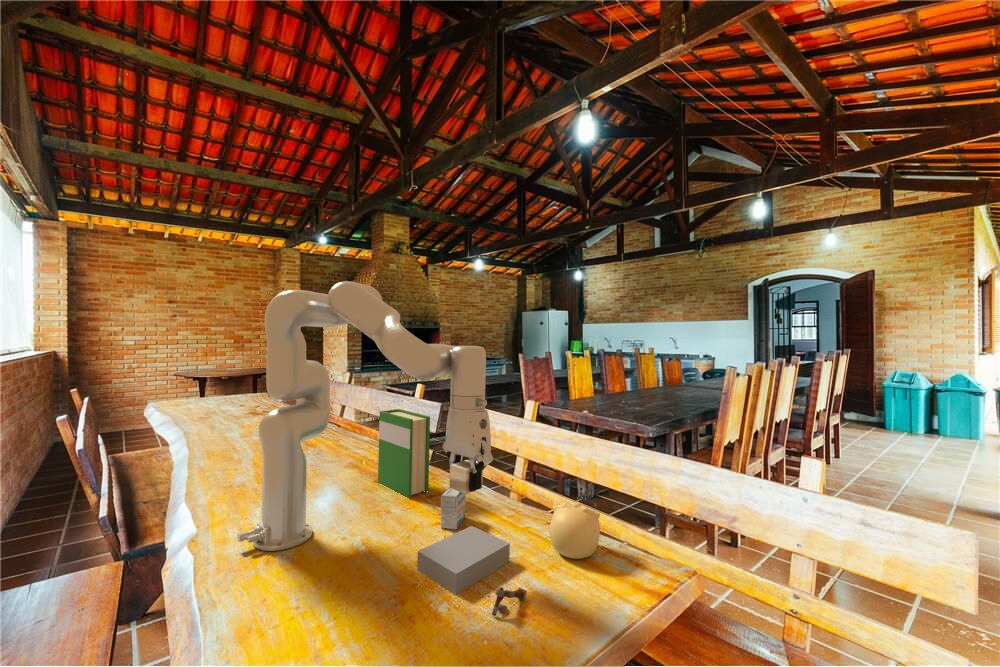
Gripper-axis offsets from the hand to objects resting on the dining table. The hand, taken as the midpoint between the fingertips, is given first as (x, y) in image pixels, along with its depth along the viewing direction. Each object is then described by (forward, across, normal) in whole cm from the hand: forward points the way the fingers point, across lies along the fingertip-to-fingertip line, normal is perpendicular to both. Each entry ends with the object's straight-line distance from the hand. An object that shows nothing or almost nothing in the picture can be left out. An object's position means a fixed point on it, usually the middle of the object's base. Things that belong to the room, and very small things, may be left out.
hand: (465, 485), depth 89 cm
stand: (+17, 0, 0) cm, 17 cm away
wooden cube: (+1, 0, 0) cm, 1 cm away
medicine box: (+18, +17, -12) cm, 27 cm away
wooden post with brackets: (+18, -16, +4) cm, 24 cm away
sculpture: (+18, -14, -22) cm, 31 cm away
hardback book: (+18, +47, -17) cm, 53 cm away
